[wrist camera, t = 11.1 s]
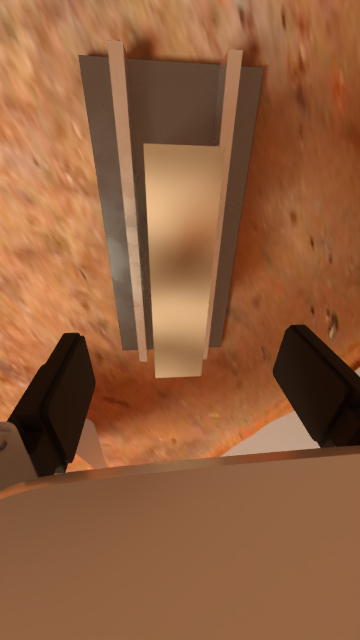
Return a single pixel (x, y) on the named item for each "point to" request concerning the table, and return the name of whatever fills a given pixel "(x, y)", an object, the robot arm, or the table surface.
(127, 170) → the door track
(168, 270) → the door panel
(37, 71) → the table surface
